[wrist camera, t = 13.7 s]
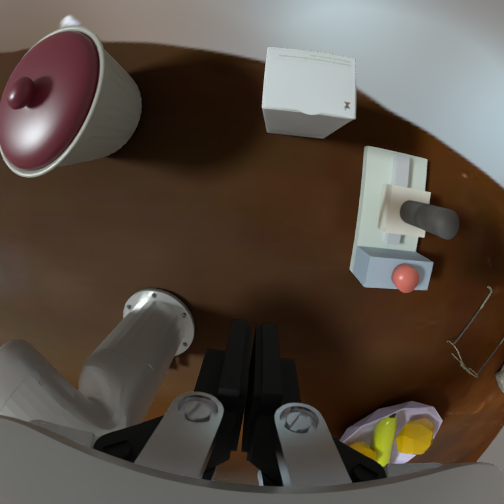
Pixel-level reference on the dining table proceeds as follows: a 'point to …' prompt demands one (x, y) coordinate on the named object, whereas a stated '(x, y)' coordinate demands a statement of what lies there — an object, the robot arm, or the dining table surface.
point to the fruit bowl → (394, 432)
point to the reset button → (405, 278)
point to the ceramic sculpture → (500, 378)
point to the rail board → (367, 233)
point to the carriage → (414, 214)
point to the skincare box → (308, 92)
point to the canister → (66, 104)
